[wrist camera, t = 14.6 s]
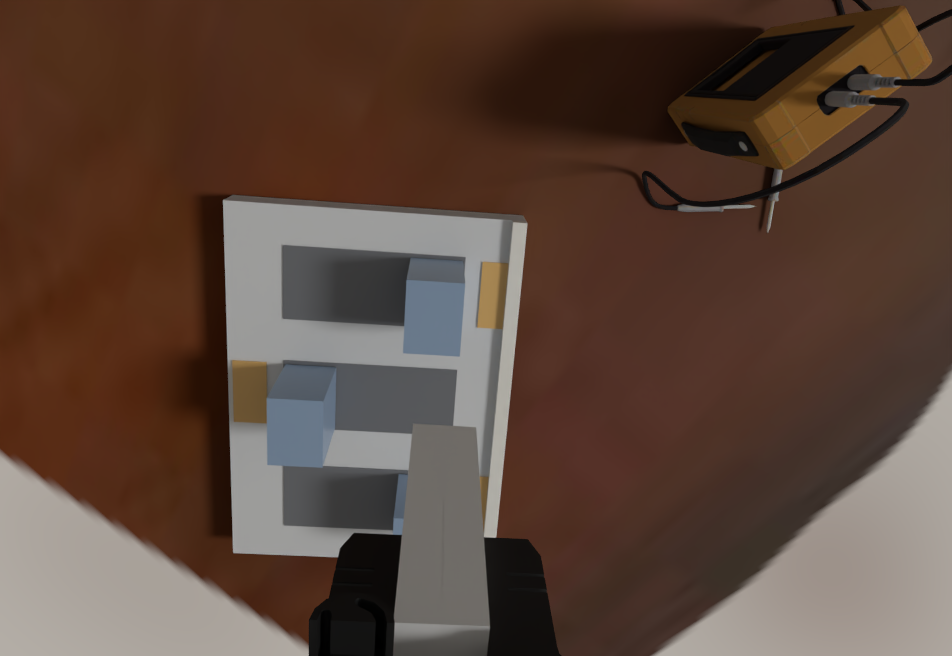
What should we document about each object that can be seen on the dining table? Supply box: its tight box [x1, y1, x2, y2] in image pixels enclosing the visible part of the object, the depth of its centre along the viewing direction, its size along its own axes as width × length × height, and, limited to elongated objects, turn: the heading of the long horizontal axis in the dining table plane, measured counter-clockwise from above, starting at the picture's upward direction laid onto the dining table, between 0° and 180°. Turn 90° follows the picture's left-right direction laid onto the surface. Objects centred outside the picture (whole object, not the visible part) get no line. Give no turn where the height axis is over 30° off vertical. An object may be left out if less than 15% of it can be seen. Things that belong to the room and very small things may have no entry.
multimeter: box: [642, 0, 952, 233], centre depth 34 cm, size 15×10×20 cm
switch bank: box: [223, 195, 527, 557], centre depth 46 cm, size 23×17×3 cm
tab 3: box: [403, 258, 465, 357], centre depth 41 cm, size 4×3×5 cm
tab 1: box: [267, 364, 336, 468], centre depth 43 cm, size 4×3×5 cm
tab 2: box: [393, 474, 408, 535], centre depth 45 cm, size 4×3×5 cm
